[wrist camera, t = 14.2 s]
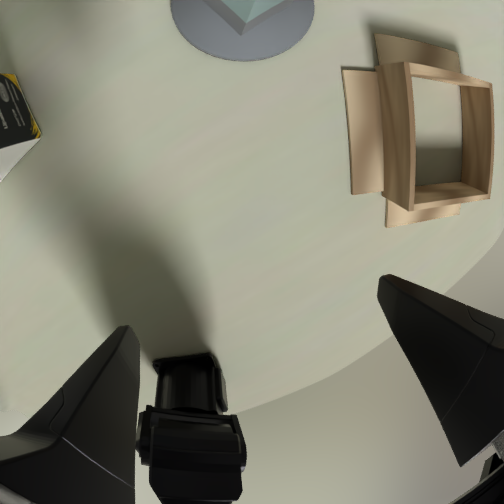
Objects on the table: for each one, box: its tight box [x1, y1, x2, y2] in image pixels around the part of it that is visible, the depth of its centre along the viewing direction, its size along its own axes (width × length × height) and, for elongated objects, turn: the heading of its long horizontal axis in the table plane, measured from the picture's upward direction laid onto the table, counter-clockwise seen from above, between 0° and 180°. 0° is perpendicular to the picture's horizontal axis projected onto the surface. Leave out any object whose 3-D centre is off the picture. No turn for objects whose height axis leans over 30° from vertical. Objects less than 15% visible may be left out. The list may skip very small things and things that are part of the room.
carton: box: [342, 33, 494, 228], centre depth 18 cm, size 17×17×4 cm
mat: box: [171, 0, 314, 61], centre depth 14 cm, size 10×10×1 cm
